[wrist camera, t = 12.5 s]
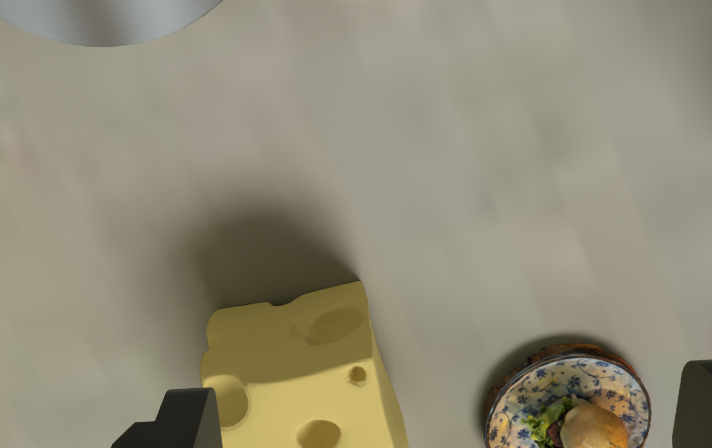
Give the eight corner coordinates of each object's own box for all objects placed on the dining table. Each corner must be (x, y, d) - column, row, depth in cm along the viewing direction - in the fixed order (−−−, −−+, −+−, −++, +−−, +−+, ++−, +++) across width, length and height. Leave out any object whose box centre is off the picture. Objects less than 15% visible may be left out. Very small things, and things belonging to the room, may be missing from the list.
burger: (448, 407, 48) (469, 480, 41) (583, 308, 45) (631, 369, 38) (543, 504, 51) (577, 587, 44) (673, 417, 49) (732, 490, 42)
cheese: (211, 307, 44) (181, 396, 34) (370, 271, 43) (383, 351, 34) (253, 434, 47) (237, 546, 38) (401, 402, 47) (420, 507, 38)
